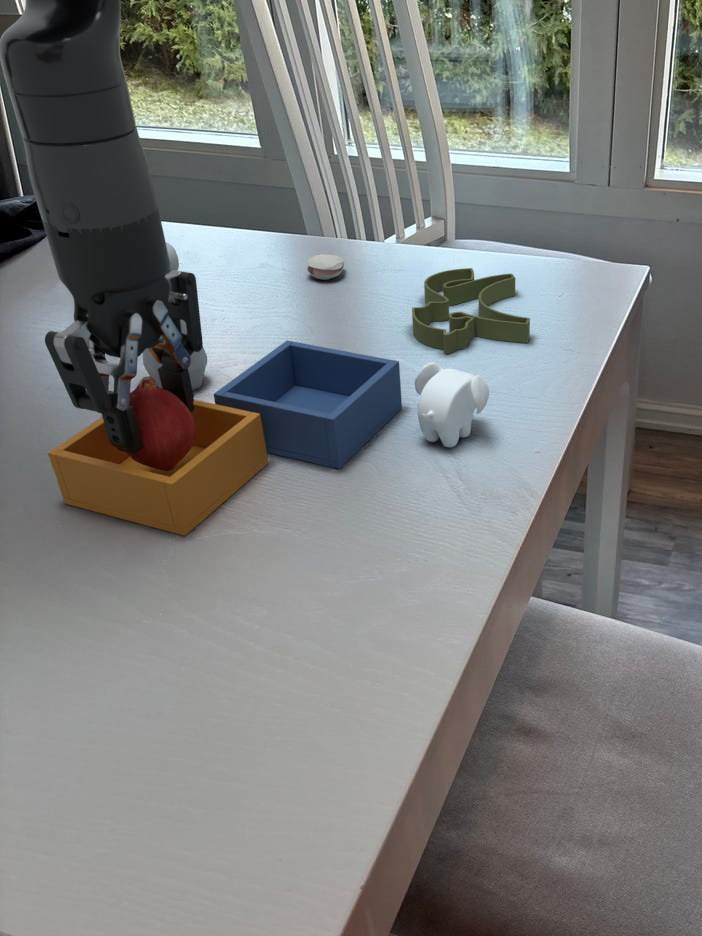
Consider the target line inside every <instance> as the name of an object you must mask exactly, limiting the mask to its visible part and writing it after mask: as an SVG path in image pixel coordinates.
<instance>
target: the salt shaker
mask: <svg viewBox="0 0 702 936" xmlns="http://www.w3.org/2000/svg"><path fill="white" fill-rule="evenodd" d="M166 246H167V251H168V255H169V260H170V268H169V269H171V270H176V271H179V269H180V261H179V257H178V256H179V255H178V253H177V251H176V249H175V248H174V245H171V244H170V243H169V242H166ZM180 323H181V331H182V333H184V334H187V328H186V323H185V321H184V320H180ZM207 355H208V354H207V353H206V349H205V348H204V346H202V349H201V351H199V352H193V353H192V355H191V356H190V358H191V363H190V366H189V368H188V372H189V376H190V381H191V385H192V390H193V391H194V390H196V389H199V388H201V387H202V385H203V380H204V375H205V372H206V368H207V365H208V356H207ZM142 364H143V367H144V369H145V371H146V373H147V374H148V376H151V377H152V378H153V379H154V380H155V385H156V386H157V387H159V388H162V385H161V381H160V377H159V373H158V368H159V367H161V366H162V364H159V363H158V362H157V361H156V360H155V358H154V357H153V355H152V354H151V353H150V351H149V350H148V348H147V349H145V350H144V351H143V353H142Z"/></svg>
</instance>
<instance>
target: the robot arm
mask: <svg viewBox="0 0 702 936" xmlns="http://www.w3.org/2000/svg"><path fill="white" fill-rule="evenodd" d="M121 5H122V3H121V0H25V6H24V10H23V13H22V15H20V17H19V18H18V19H17V20H16V21H15V22H14V23H13V24H12V25H10V26H9V27H8V28H7V29H6V30H4V32H3V33H2V34H1V37H0V65H1V68H2V74H3V78H4V80H5V84H6V87H7V91H8V95H9V98H10V101H11V104H12V107H13V112H14V114H15V118H16V122H17V125H18V128H19V131H20V135H21V138H22V143H23V147H24V153H25V158H26V159H25V160H26V164H27V165H26V166H27V172H28V176H29V181H30V185H31V188H32V191H33V194H34V198H35V201H36V205H37V208H38V212H39V214H40V218H41V221H42V226H43V228H44V231H45V234H46V235H45V236H46V239H47V241H48V245H49V249H50V251H51V256H52V258H53V262H54V266H55V269H56V272H57V276H58V278H59V281H60V282H61V283H62V284H63V286H65V287H66V288H67V291H68V292H69V293H70V294H71V296H72V298H73V305H74V309H73V323H71V324H70V325H69V326H67V327H66V328H65V329H64V330H62V331H60V332H59V331H53V330H49V331H48V332H47V333H46V334H45V337H44V343H45V346H46V348H47V351H48V354H49V356H50V357H51V359H52V362H53V364H54V366H55V368H56V370H57V372H58V375H59V377H60V379H61V381H62V384H63V387H65V390H66V392H67V394H68V396H69V399H70V401H71V403H72V405H73V406H74V407H75V408H77V409H81V410H86V411H92V412H96V413H97V414H101V417H103V420H104V424H105V427H106V430H107V434H108V438H109V441H110V443H111V444H112V446H113V447H116V448H117V449H118V450H120V451H124V452H128V453H132V454H136V453H138V452H139V451H140V450H142V449H143V443H142V440H141V436H140V432H139V429H138V425H137V421H136V417H135V414H134V410H133V406H129V403H130V393H131V383H132V382H131V381H132V379H135V378H136V377H137V373H138V357H140V356H141V355H143V351H144V350H145V349H147V348H148V350H149V351H150V353H151V354H152V355H153V357H154V358H155V360H156V361H157V362H158V363H159V364H162V366H161V367H159V368H158V373H159V377H160V381H161V385H162V389H164V390H167V391H169V392H171V393H173V394H174V395H175V396H177V397H178V398H179V399H180V400H181V401H182V402H183V403H184V404H185V405H186V407H187V408H188V409H189V411H190V412H191V413H192V412H193V411H194V404H193V403H194V400H195V395H194V390H192V385H191V381H190V376H189V372H188V368H189V366H190V363H191V358H190V356H191V355H192V353H193V352H199V351H201V349H202V346H203V345H204V342H203V333H202V332H203V331H202V322H201V313H200V305H199V304H200V303H199V296H198V287H197V285H198V284H197V278H196V275H195V274H194V273H193V272H187V271H182V270H178V271H176V270H171V269H169V268H170V260H169V255H168V251H167V246H166V243H167V242H166V238H165V232H164V230H163V224H162V220H161V214H160V210H159V205H158V201H157V195H156V192H155V187H154V182H153V177H152V174H151V169H150V165H149V161H148V158H147V155H146V152H145V149H144V146H143V143H142V141H141V138H140V134H139V131H138V128H137V125H136V124H137V122H136V118H135V113H134V109H133V108H134V107H133V105H132V101H131V100H132V99H131V94H130V91H129V90H130V89H129V86H128V81H127V77H126V73H125V69H124V66H123V62H122V58H121V46H120V45H121V22H122V21H121V19H122V7H121ZM180 320H184V321H185V323H186V328H187V334H184V333H182V331H181V323H180ZM203 347H204V346H203ZM106 355H107V356H110V357H114V358H118V359H119V363H113V362H109V361H108V360H107V358H106ZM110 376H111V377H112V378H113V391H112V390H109V389H110Z"/></svg>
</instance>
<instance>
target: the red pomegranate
mask: <svg viewBox="0 0 702 936" xmlns="http://www.w3.org/2000/svg"><path fill="white" fill-rule="evenodd" d="M129 406H133V410H134V414H135V417H136V421H137V425H138V429H139V432H140V436H141V440H142V443H143V449H142V450H140V451H139V452H138V453H136V454H132V453H128V452H126V453H127V454H128V455H129V456H130V457H131V458H132V459H133V460H134V461H136V462H138V463H140V464H142V465H145V466H148V467H152V468H155V469H160V470H163V471H170V470H172V469H173V468H175V466H176V465H177V463H178V462H179V461H181V460H182V459H183V458H184V457H185V456H186V454H187V453H188V452H189V451H190V449H191V448H192V447H193V444H194V441H195V425H194V419H193V417H192V415H191V412H190V411H189V409H188V408H187V407H186V405H185V404H184V403H183V402H182V401H181V400H180V399H179V398H178V397H177V396H175V395H174V394H173V393H171V392H169V391H167V390H164V389H162V388H159V387H158V386H157V384H156V383H155V380H154V379H153V378H152V377H151V376H150V375H148V376H147V375H146V376H144V377H142V378H141V379H140V381H139V382H138V384H137V386H136V387H135V388H134V389H133V390H132V391H130V403H129Z"/></svg>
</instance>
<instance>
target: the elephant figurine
mask: <svg viewBox="0 0 702 936" xmlns="http://www.w3.org/2000/svg"><path fill="white" fill-rule="evenodd" d="M414 388H415V392H416V393H417V394H418V395H419V398H418V402H417V418H418V423H419V426H420V429H421V432H422V435H423V436H424V438H425V439H426V440H427V441H428V442H431V443H435V442H437V441H438V440H439V439H440V441H441V443H442V445H443V446H444V447H446V448H454V447H456V446H457V444H458V442H459V439H460V438H468V437H469V436H470V434H471V429H472V421H473V416H474V413H475V414H476V415H479V414H481V413H482V412H483V411H484V409H485V407H486V406H487V404H488V402H489V397H490V391H489V390H490V389H489V386H488V384H487V383H486V380H485V379H484V378H482V377H481V375H478V374H473V373H470V372H465V371H462V370H459V369H455V368H442V367H441V366H440V365H439V364H438V363H436V362H434V361H431V362H428V363H426V364H425V365H424V366H422V367H421V369H420V370H419V371H418V373H417V374H416V377H415V379H414Z"/></svg>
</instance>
